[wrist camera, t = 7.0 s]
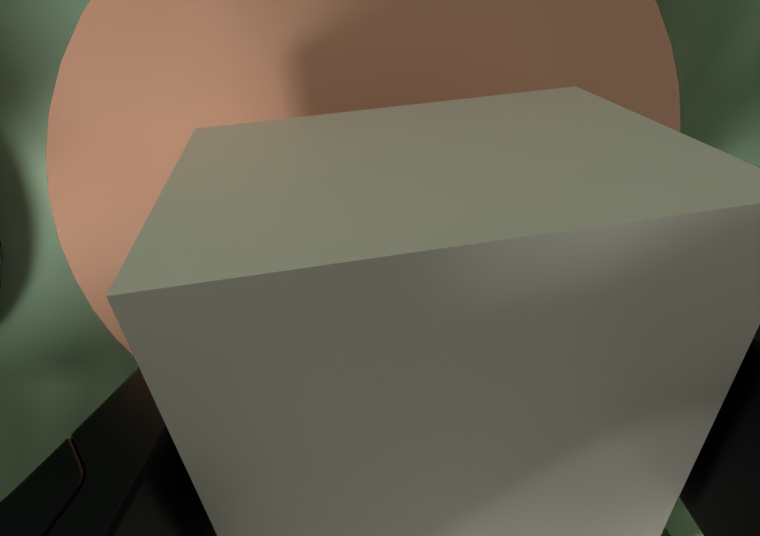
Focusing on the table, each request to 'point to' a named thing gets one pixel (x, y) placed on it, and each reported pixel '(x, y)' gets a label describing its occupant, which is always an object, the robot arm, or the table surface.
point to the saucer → (303, 85)
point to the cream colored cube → (445, 316)
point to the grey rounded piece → (0, 264)
